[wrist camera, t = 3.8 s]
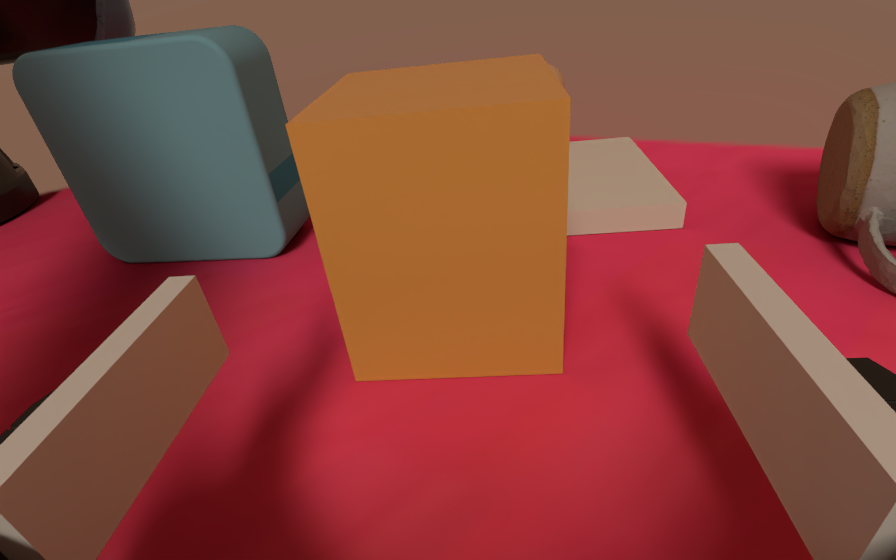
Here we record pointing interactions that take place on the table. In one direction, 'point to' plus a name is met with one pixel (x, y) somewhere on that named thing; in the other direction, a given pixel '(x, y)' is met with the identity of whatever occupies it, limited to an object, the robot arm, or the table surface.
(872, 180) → the ceramic mug
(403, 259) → the tall orange block
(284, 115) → the data package
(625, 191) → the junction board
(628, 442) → the table surface
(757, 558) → the table surface
